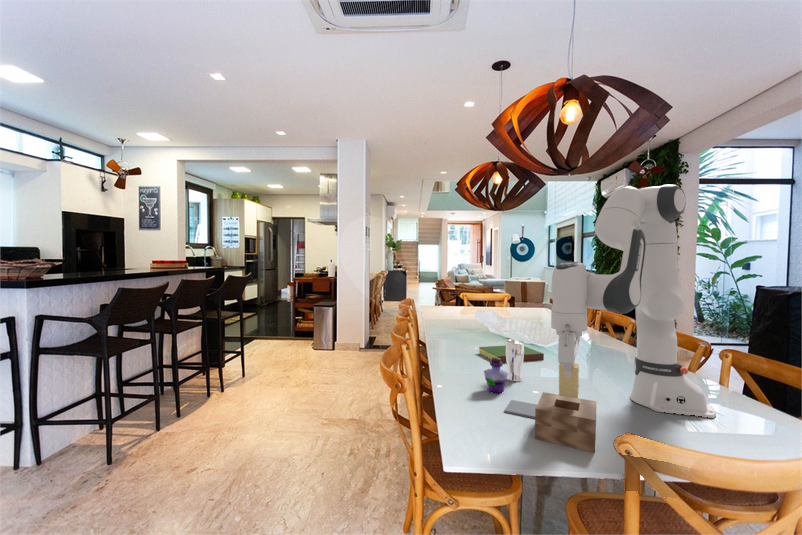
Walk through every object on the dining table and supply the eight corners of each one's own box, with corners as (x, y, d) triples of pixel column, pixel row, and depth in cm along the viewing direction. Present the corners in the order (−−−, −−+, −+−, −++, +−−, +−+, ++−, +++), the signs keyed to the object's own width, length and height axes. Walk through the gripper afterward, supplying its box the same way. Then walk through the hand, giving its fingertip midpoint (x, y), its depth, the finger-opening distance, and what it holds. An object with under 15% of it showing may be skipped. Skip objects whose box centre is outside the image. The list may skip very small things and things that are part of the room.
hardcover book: (498, 364, 167) (498, 356, 167) (478, 354, 185) (478, 347, 185) (544, 361, 174) (545, 353, 174) (521, 351, 192) (521, 344, 192)
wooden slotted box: (595, 429, 102) (596, 401, 102) (594, 452, 89) (595, 420, 89) (542, 418, 108) (543, 392, 108) (534, 438, 96) (535, 408, 96)
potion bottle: (481, 393, 129) (482, 359, 128) (485, 385, 137) (485, 354, 136) (507, 397, 126) (507, 362, 125) (509, 388, 134) (509, 356, 134)
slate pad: (543, 407, 117) (543, 405, 117) (538, 419, 108) (538, 417, 108) (511, 401, 122) (511, 399, 122) (504, 412, 113) (504, 410, 113)
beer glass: (524, 382, 140) (525, 344, 140) (505, 381, 142) (506, 343, 142) (522, 377, 147) (523, 340, 147) (504, 376, 149) (505, 339, 148)
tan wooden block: (578, 393, 99) (578, 363, 99) (577, 398, 96) (577, 368, 95) (560, 390, 102) (560, 361, 101) (559, 395, 98) (559, 365, 98)
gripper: (580, 329, 88) (580, 387, 88) (583, 318, 106) (583, 365, 106) (551, 327, 91) (551, 383, 91) (559, 316, 109) (559, 363, 109)
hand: (568, 373), depth 98 cm, fingers closed on tan wooden block, 4 cm apart
